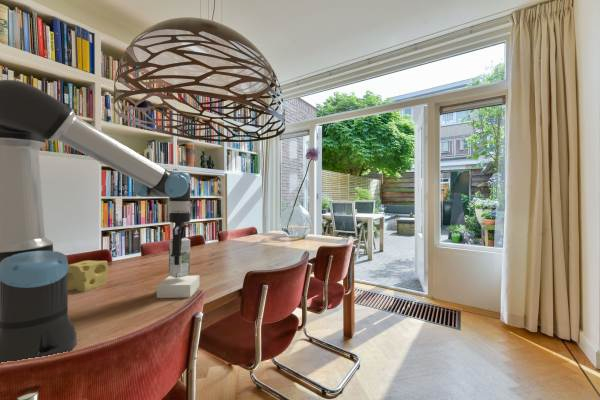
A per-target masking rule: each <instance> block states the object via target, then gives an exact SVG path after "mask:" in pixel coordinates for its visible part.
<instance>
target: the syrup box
mask: <svg viewBox="0 0 600 400" xmlns="http://www.w3.org/2000/svg"><path fill="white" fill-rule="evenodd" d="M172 242H173V238H170V239H169V244H168V245H169V247H168V248H169V249H168V252H169V253H168V277H169V276H172V277H174V278H178V277H183V276H190V274H191V273H190V270H191V264H190V263H191V239H189V238H187V237H186V238H182V243H181V255H180V256H181V273H174V274H173V256H171V255H172Z"/></svg>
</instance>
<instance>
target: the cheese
mask: <svg viewBox="0 0 600 400" xmlns="http://www.w3.org/2000/svg"><path fill="white" fill-rule="evenodd" d="M108 263H109V262H108V261H107V260H90V259H89V260H82V261H78V262H74V263H70V264H68V265H69V270H68V291H77V292H82V293H85V292H88V291H91V290H93V289H97V288H99V287H102V286H106V284H107V280H108V274H109V265H108Z"/></svg>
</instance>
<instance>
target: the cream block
mask: <svg viewBox="0 0 600 400" xmlns="http://www.w3.org/2000/svg"><path fill="white" fill-rule="evenodd" d="M198 287H199V288H200V275H197V274H196V275H195V274H194V275H187V276H183V277H178V278H174V277H172V276H169V275H168V276H167V277H166V278H165V279H163V280H162V281H160V282H159V283H158V284H157V285H156V299H164V298H165V299H167V298H170V299H173V298H174V299H175V298H178V299H179V298H191V297H192V296H193V295H194V294H195V293H196V291H197V290H198V289H199V288H198ZM197 288H198V289H197Z"/></svg>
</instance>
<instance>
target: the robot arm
mask: <svg viewBox="0 0 600 400" xmlns="http://www.w3.org/2000/svg"><path fill="white" fill-rule="evenodd" d="M46 140H47V141H58V142H59V143H62V144H64V145H66V146H68V147H70V148H71V149H74V150H76V151H78V152H80V153H82V154H83V155H85V156H87V157H90V158H91V159H93V160H95V161H97V162H99V163H102V164H103V165H105V166H106V167H109V168H111V169H112V170H114V171H116V172H119V173H120V174H122V175H125V176H126V177H129V178H130V179H133V180H134V181H133V192H134V193H135V195H136V196H137V197H145V198H147V197H148V198H151V197H152V198H153V197H154V198H158V197H159V198H169V200H168V211H169V214H168V222H170V223H172V224H174V226H173V228H172V239H173V242H172V255H171V256H173V274H174V273H181V256H180V255H181V243H182V238H187V231H186V230H187V225H185V223H189V222H190V221H191V212H190V211H191V207H192V206H193V205H192V203H191V185H192V184H191V176H190V174H189V173H188V172H180V171H172V172H171V171H169V170H167V169H165V168H164V167H162V166H161V165H159V164H157V163H155V161H152V160H150V159H148V157H145V156H144V155H142V154H141V153H139V152H136V151H135V150H134V149H132V148H130V147H129V146H127V145H126V144H124V143H122V142H121V141H118V140H117V139H115V138H114V137H112V136H110V135H108V134H107V133H106V132H103V131H102V130H100V129H98V127H95V126H93V125H92V124H90V123H88V122H87V121H85V120H83V119H82V118H80V117H78V116H77V115H76V113H75V110H74V109H73V108H72V107H70V106H68V105H66V104H65V103H63V102H61V101H59V100H58V99H56V98H55V97H53V96H52V95H50V94H48V93H47V92H45V91H43V90H41V89H39V88H37V87H36V86H33V85H31V84H29V83H26V82H23V81H20V80H14V79H13V80H12V79H0V363H1V362H7V361H17V360H22V359H28V358H35V357H42V356H48V355H53V354H57V353H63V352H67V351H69V352H71V351H72V350H73V349H74V348H75V347H76V346H77V343H78V339H77V337H78V333H77V331H76V329H75V327H74V324H73V322H72V320H71V318H70V315H69V311H68V309H69V308H68V306H69V298H68V297H69V296H68V295H69V290H68V270H69V265H70V264H69V262H68V261H69V260H68V257H67V256H66V254H64V253H63V252H60V251H55V250H54V242H53V241H52V240H49V239H48V238H47V237H45V236H46V235H45V234H46V233H45V224H44V223H45V221H44V210H43V195H42V182H41V181H42V179H41V169H40V168H41V167H40V155H39V153H40V152H39V151H40V150H41V149H42V148H43V147H45V145H46Z"/></svg>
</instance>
